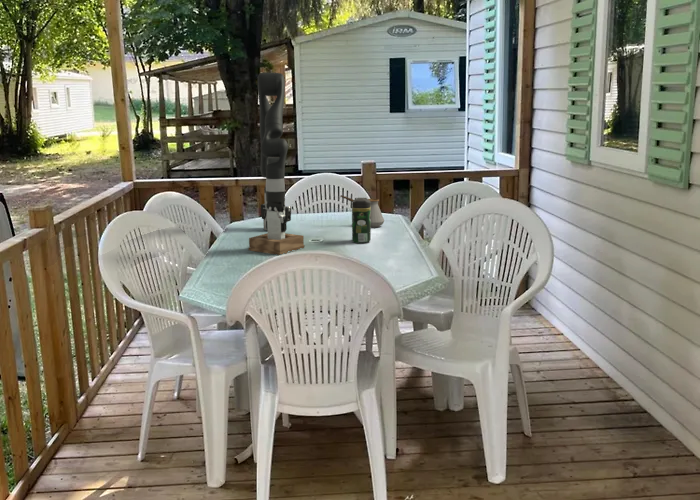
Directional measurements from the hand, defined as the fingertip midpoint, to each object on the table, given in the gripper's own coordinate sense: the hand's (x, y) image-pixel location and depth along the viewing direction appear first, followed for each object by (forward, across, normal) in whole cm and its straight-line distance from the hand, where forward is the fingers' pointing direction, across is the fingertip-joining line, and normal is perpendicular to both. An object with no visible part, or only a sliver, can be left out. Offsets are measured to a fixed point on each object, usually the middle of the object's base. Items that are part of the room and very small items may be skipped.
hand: (276, 230), depth 275 cm
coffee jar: (+8, +21, +31) cm, 38 cm away
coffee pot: (+8, +3, +61) cm, 62 cm away
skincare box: (+4, 0, 0) cm, 4 cm away
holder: (+7, 0, 0) cm, 7 cm away
